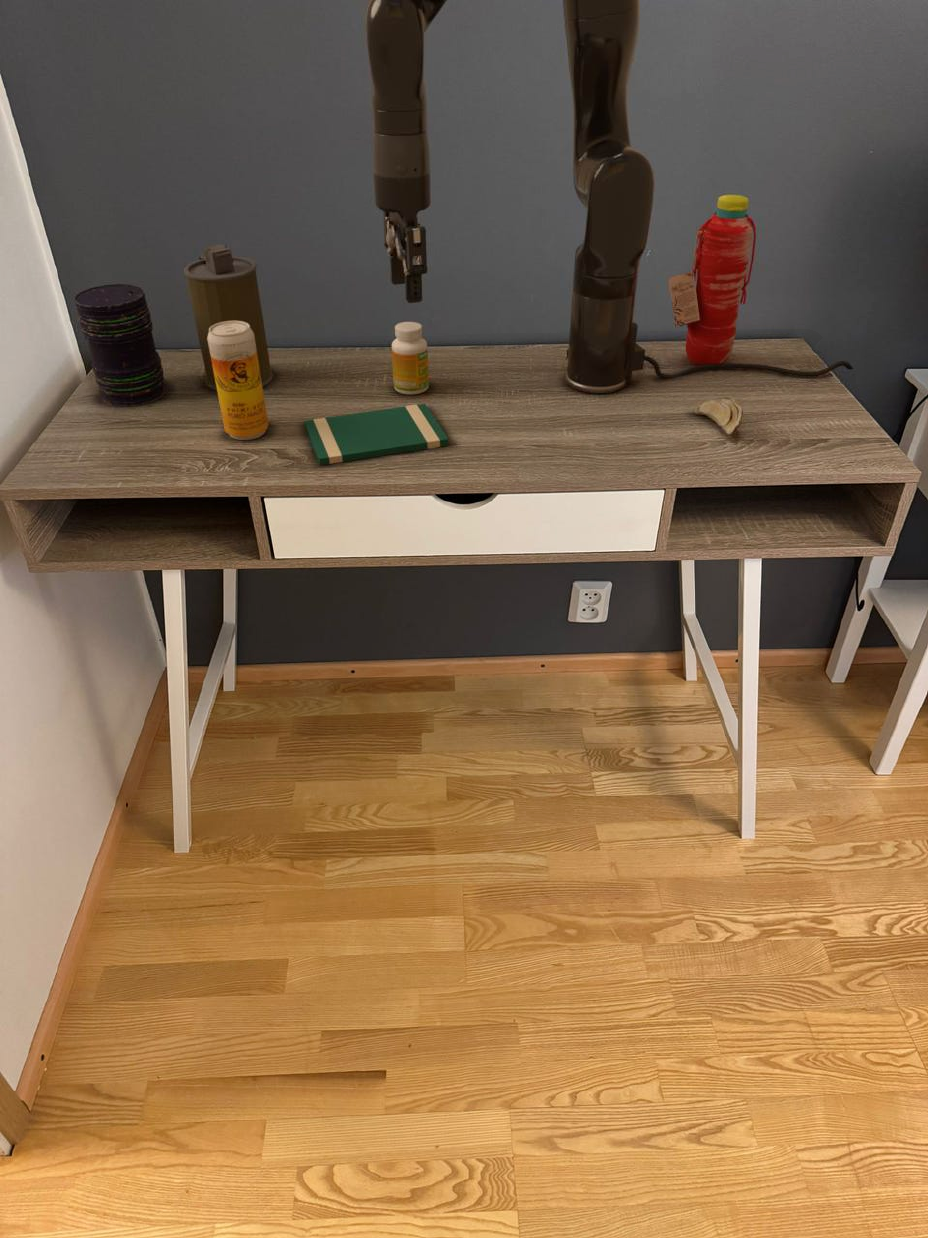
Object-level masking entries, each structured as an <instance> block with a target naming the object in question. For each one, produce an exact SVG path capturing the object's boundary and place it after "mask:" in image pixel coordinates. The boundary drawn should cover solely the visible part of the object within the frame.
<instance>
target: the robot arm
mask: <svg viewBox="0 0 928 1238" xmlns="http://www.w3.org/2000/svg"><path fill="white" fill-rule="evenodd" d="M447 1H448V0H369V3H368V5H367V8H366V14H365V34H366V44H367V45H366V46H367V55H368V62H369V71H370V78H371V83H372V84H371V85H372V86H371V110H372V112H371V113H372V130H373V131H372V133H373V136H372V137H373V138H372V166H373V186H374V187H373V188H374V204H375V206H376V207H377V209H379V210H380V211H382V213H383V237H384V238H383V239H384V241H383V245H384V248H385V249H386V251H387V255H388V257H389V264H390V265H389V267H390V268H389V269H390V270H389V271H390V282H391V283H392V285H394V286H395V285H396V286H397V285H405V300H406V302H407V303H408V304H414V303H421V302H422V301H423V282H422V281H423V279H422V277H423V275H424V274H427V273H428V260H427V259H428V258H427V256H428V255H427V234H426V233H427V230H426V227H425V226H423V225H421V222H419V219H418V213H419V212H421V211H425V210H427V209H428V208H430V206H431V203H432V202H431V159H430V158H431V155H430V154H431V153H430V143H429V136H428V105H427V103H428V102H427V93H426V86H425V83H424V78H425V77H424V73H425V72H424V71H425V33H426V31H427V29H428V28H429V26H430V25H431V24H432V23H433V21H434V20H435V19H436V17H437V16H438V14H439V12H440V11H441V10H442V8H443V7H444V6H445V4H446V2H447ZM640 7H641V6H640V0H562V8H563V19H564V20H563V21H564V28H565V29H564V30H565V38H566V47H567V48H566V49H567V58H568V59H567V60H568V69H569V79H570V85H571V93H572V101H573V104H572V105H573V163H572V165H573V166H572V167H573V169H572V173H573V175H572V176H573V178H572V179H573V186H574V190H575V194H576V196H577V198H578V199H579V201H580V203H581V204H582V205H583V206H584V207H585V208H586V209H587V210H586V219H585V220H586V221H585V230H584V237H583V240H582V241H583V242H581V243H579V245H578V246H577V247H576V249H575V253H574V265H573V278H572V279H573V280H572V296H571V310H570V323H569V324H570V325H569V337H568V349H566V359H567V365H566V372H565V383H566V384H567V385H568V386H570V388H572V389H575V390H577V391H579V392H584V393H588V394H609V393H614V392H618V391H620V390H622V389H624V388H625V387H627V386H631V385H632V380H633V372H636V371H643V370H644V364H645V362H648V364H651V365H652V367H653V368H654V372H655V375H656V376H657V377H658V378H660V379H662V380H670V379H675V378H679V377H683V376H687V375H689V374H692V373H695V372H698V371H702V370H711V369H712V370H713V369H744V370H745V369H746V370H758V371H768V372H773V373H778V374H784V375H789V376H795V377H806V378H808V377H809V378H813V377H820V376H824V375H826V374H828V373H831V372H832V371H835V370H836V369H837V368H839V367H845V369H847V370H853V369H854V367H853V365H852V364H851V363H850V362H848V361H846V360H839V361H837V362H835V363H833V364H831V365H829V366H828V367H826V368H823V369H820V370H816V371H815V370H814V371H807V370H806V371H804V370H803V371H802V370H794V369H788V368H784V367H778V366H775V365H774V366H773V365H766V364H757V363H743V362H742V363H736V362H725V363H717V364H703V365H698V366H697V365H694V366H692V367H689V368H687V369H685V370H683V371H680V372H678V373H675V374H665V373H664V372H663V373H662V371H661V368H660V365H659V363H658V361H656V359H654V358H652V357H650V356H648V355H646V349H644V348H643V347H642V346H640V345H639V344H638V343H637V335H638V327H639V326H638V324H637V322H636V321H634V313H635V305H636V295H637V286H638V278H639V268H640V261H641V258H642V256H643V254H644V253H645V250H646V248H647V243H648V237H649V231H650V226H651V219H652V212H653V206H654V198H655V174H654V173H655V172H654V168H653V166H652V164H651V162H650V160H649V159H648V158H647V157H646V156H645V155H644V154H643V153H641V152H640V151H638V150H637V149H634V148H633V147H632V144H631V143H632V142H631V137H630V129H629V118H628V117H629V116H628V101H627V100H628V99H627V98H628V85H629V80H630V79H629V78H630V73H631V70H632V65H633V59H634V55H635V52H636V47H637V42H638V35H639V28H640V15H641V13H640V11H641V8H640ZM414 260H415V261H416V264H414V262H413V261H414Z"/></svg>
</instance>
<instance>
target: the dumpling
mask: <svg viewBox="0 0 928 1238" xmlns="http://www.w3.org/2000/svg"><path fill="white" fill-rule="evenodd" d="M694 414H696V415H697V416H701V415H703V416H706V417H708V418H709V419H711V420H712V421H714V422H715V423H716V424H717V425H718V426H719V427H721V428H722V430H723V431H724V432H725V434H728V435H729V436H731V437H732V438H734V437H735V435H738V432H737V431H738V430H737V429H739V428H740V426H741V424H742V421H743V417H744V411H743V405H742V404H740V403H738V402H737V401H736V400H735V399H733V398H731V397H717V398H714V399H710V400H709V399H708V400H706V401H704V402H702V403H700V404H698V405H697V406H696V408H695V410H694Z"/></svg>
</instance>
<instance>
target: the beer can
mask: <svg viewBox="0 0 928 1238" xmlns="http://www.w3.org/2000/svg"><path fill="white" fill-rule="evenodd" d="M207 340H208V345H209V350H210V355H211V361H212V366H213V371H214V376H215V382H216V387H217V391H216V392H217V397H218V402H219V408H220V413H221V418H222V424H223V428H224V431H225V433H227V435H229V437H231V438H232V439H233V440H234V439H235V440H237V441H239V440H240V441H249V440H255V439H257V438H261V436H263V435H264V434H265V433H266V430H267V429H268V427H269V420H268V414H267V408H266V402H265V401H266V400H265V395H264V394H265V393H264V389H263V388H264V387H262V381H261V375H260V369H259V362H258V356H257V350H256V343H255V337H254V333H253V331H252V330H251V328H250V325H249V324H248V323H246V322H243V321H224V322H219V323H216V324H214V325H212V326H211V327H210V328H209V333H208V337H207Z"/></svg>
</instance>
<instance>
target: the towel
mask: <svg viewBox="0 0 928 1238" xmlns="http://www.w3.org/2000/svg"><path fill="white" fill-rule="evenodd" d="M303 423H304V425H303V426H304V428H305V431H306V433H307V437H308V439H309V441H310V444H311V446H312V448H313V451H314V454H315V456H316V459H317V461H318V465H319V466H324V465H331V464H339V463H344V462H350V461H351V462H352V461H356V460H363V459H369V458H376V457H382V456H389V455H394V454H395V455H396V454H402V453H409V452H415V451H422V450H429V449H436V448H440V447H448V446H449V445H450V439H449V437H448V435H447V434H446V433H445V431H444V430H443V428H442V426H441V425H440V423H439V422H438V420H437V419H436V417H435V416H434V415H433V413H432V412H431V410H430V408H429V407H428V405H427V403H418V404H411V405H410V404H409V405H404V406H398V407H391V408H385V409H377V410H371V411H370V410H369V411H362V412H356V413H349V414H342V415H334V416H328V417H320V418H313V419H306V420H303Z"/></svg>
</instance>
